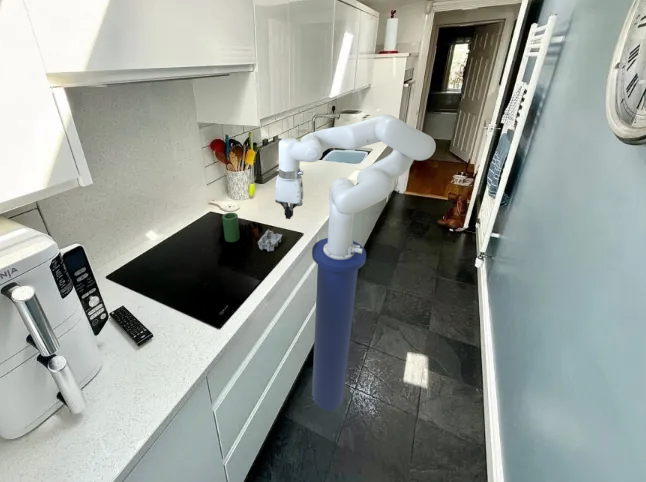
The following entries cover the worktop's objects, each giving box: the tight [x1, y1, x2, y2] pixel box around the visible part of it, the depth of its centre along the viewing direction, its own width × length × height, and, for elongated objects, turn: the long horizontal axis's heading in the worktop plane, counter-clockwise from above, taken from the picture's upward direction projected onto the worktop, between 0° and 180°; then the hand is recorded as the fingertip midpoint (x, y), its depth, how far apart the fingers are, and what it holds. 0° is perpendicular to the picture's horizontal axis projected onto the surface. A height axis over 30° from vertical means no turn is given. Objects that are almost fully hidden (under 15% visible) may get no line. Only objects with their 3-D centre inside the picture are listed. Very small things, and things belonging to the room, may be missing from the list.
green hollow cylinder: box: [221, 212, 241, 243], centre depth 132 cm, size 6×6×11 cm
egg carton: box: [257, 229, 283, 252], centre depth 128 cm, size 11×8×4 cm
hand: (288, 217), depth 120 cm, fingers closed
